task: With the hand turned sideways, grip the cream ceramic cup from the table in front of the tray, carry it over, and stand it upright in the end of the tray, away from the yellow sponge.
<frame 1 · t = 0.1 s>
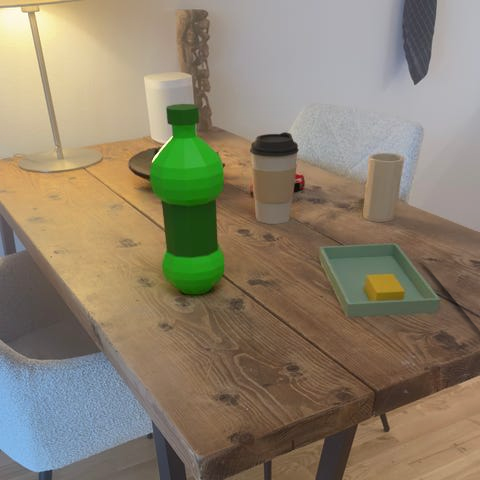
sponge: (382, 298, 83), point 1 cm above the table, touching tray
tray: (372, 286, 88), on the table
coffee cup: (272, 219, 113), on the table
plastic bottle: (195, 288, 89), on the table
race car: (276, 192, 126), on the table
oil lamp: (178, 185, 132), on the table
cup: (378, 216, 112), on the table
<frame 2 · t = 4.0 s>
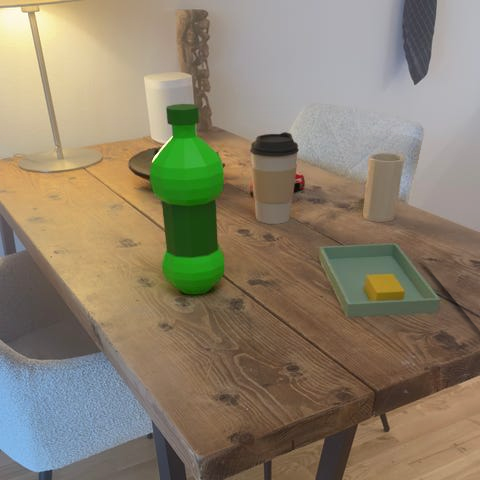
nothing on the table moved.
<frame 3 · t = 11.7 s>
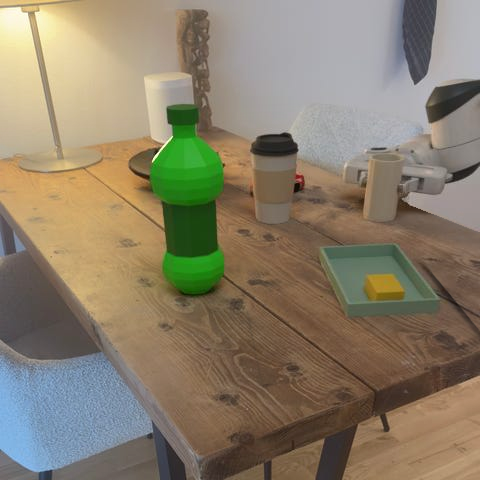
hand: (381, 186, 108), 6 cm above the table, tool horizontal, fingers closed on cup, 6 cm apart
cup: (379, 216, 112), on the table, touching gripper
everything else where it was.
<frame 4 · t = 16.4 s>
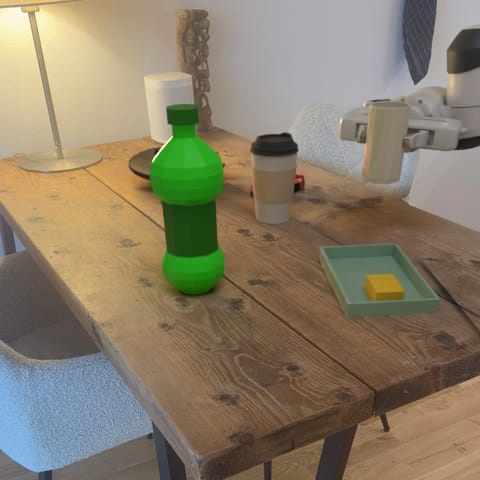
hand: (383, 140, 90), 17 cm above the table, tool horizontal, fingers closed on cup, 6 cm apart
cup: (380, 178, 95), point 11 cm above the table, touching gripper
everything else where it was.
when the fingers open (7 cm above the table, at t = 21.5 s): cup stays where it is, resting on tray.
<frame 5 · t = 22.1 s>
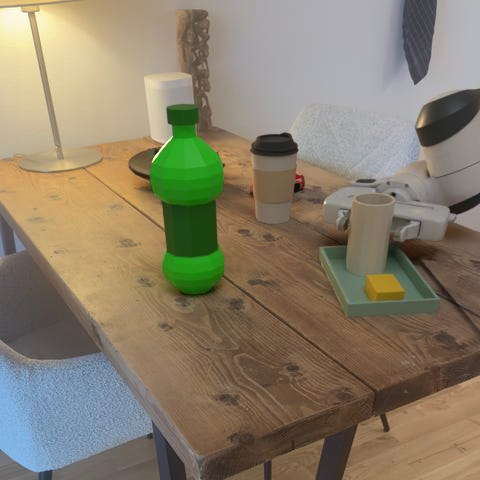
hand: (368, 231, 87), 7 cm above the table, tool horizontal, fingers open, 8 cm apart
cup: (365, 268, 91), point 1 cm above the table, touching tray
everything else where it was.
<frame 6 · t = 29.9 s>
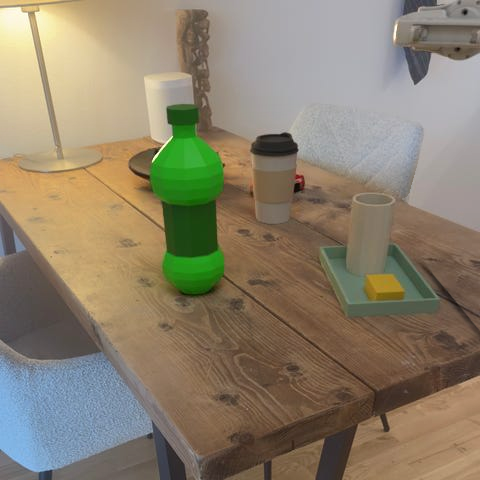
hand: (444, 36, 88), 30 cm above the table, tool horizontal, fingers open, 8 cm apart
nothing on the table moved.
at the end: cup inside the target area in the tray (0.3 cm from its centre), point 0.6 cm above the tray's base; cup tilted 0°; the gripper is holding nothing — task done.
